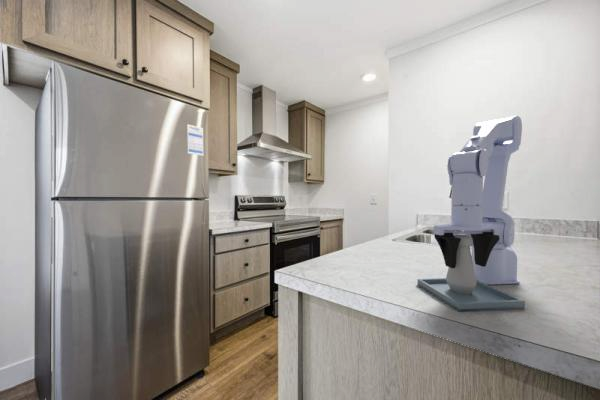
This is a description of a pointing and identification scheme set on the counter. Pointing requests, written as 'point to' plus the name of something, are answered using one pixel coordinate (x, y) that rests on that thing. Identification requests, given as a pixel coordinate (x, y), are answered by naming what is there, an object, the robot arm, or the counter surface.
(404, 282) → the counter surface
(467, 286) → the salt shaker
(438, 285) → the tray
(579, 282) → the counter surface
